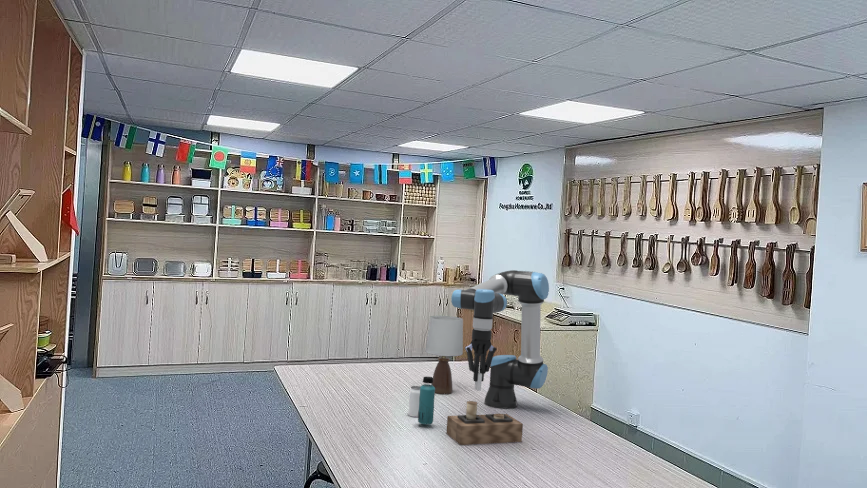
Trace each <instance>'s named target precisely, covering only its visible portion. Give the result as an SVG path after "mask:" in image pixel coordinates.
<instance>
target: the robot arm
mask: <svg viewBox="0 0 867 488" xmlns="http://www.w3.org/2000/svg"><path fill="white" fill-rule="evenodd" d="M549 284H550V283H549V280H548V278H547V276H546V275H545V274H544V273H543V272H536V271H527V270H525V271H524V270H513V269H512V270H506V271H502V272H499V273H496V274H494V275H492V276H490V277H489V278H488V280H486V281H483V282H481V283H479V284H476V285H474V286H472V287H470V288H467V289H465V290H464V289H455V290H454V291H453V292H452V294H451V298H450V299H451V305H452V306H453V307H454V308H456V309H457V308H458V309H460V310H461V309H463V310H471V311H473V317H472V318H473V319H472V328H473V329H472V333H471V341H470V344H469V345H466V346H465V347H464V350H465V352H466V356H467V363H468V369H469V372H472V373H473V378H472V380H473V382H474V390H475V391H481V390H482V382H484V378H485V374H486V373H488V372H489V371H490V373H489V385H488V386H489V387H488V389H487V391H486V395H485V397H484V404H485V405H486V406H488V407H492V408H499V409H513V408H516V407H517V405H518V403H517V401H518V400H517V397H516V393H515V386H520V387H525V388H530V389H535V390H536V389H537V390H539V389H542V387H543V386H544V384H545V382H546V380H547V377H548V370H549V367H548V365H547V364H546V363H544V358H543V357H542V356H541V312H542V311H541V308H542V307H541V306H542V304H544V303H545V300H546V299H547V298H548V296H549V292H550V285H549ZM505 295H506V296H508V295H509V296H515V297H517V298H518V299H517V300H518V301H517V302H518V303H519V304H520V305H521V317H520V318H521V320H520V321H521V324H520V325H521V326H520V327H521V338H520V339H521V340H520V341H521V343H520V344H521V346H520V348H521V349H520V351H521V352H520V355H519V356H518V357H517V356H516V355H513V354H500V355H494V354H495V352H496V351H497V347H494V346H493V344H492V334H493V333H492V329H493V319H494V313H500V312H502V311H504V310H506V308H507V306H508V305H507V304H508V299H507V298H506V296H505ZM472 351H473V352H472ZM487 352H488V353H487ZM473 356H474V357H473Z"/></svg>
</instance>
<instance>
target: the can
mask: <svg viewBox="0 0 867 488" xmlns="http://www.w3.org/2000/svg"><path fill="white" fill-rule="evenodd" d="M420 387H421V386H418V385H412V386H410V389H409V393H408V397H409V398H408V409H407V410H408V411H407V414H408V416H409V417H412V418H418V411H419V397H420Z"/></svg>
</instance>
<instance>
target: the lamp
mask: <svg viewBox="0 0 867 488" xmlns="http://www.w3.org/2000/svg"><path fill="white" fill-rule="evenodd" d="M463 330H464V319H463V318H462V317H457V316H450V315H432V316H430V317H429V324H428V331H427V336H426V337H427V338H426V345H425V353H426V354H430V355H433V356H437V361H438V362H437V364H436V365H435V368H434V371H433V375H432V378H433V383H430V385H433V386H434V388H435V394H439V395H449V394H453V391H454V390H453V377H452V370H451V367H450V363H449V362H450V360H451V359H450V358H449V357H458V356H462V355H464V353H463V352H464V341H463V339H464V331H463ZM438 356H439V357H438Z"/></svg>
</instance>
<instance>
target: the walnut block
mask: <svg viewBox="0 0 867 488" xmlns="http://www.w3.org/2000/svg"><path fill="white" fill-rule="evenodd" d="M494 414H495V413H487V414H477V415H476V420H467V419H466V414H458V415H447V417H446V419H447V421H446V433H445V434H446V435H447V436H448V437H450V438H451V439H453V440H454V441H455V443H457V444H458V445H459V446H465V445H467V446H470V445H486V444H505V443H506V444H507V443H522V442H523V429H524V424H523V423H522V422H521V421H519V420H517V419H515V418H514V417H512V416H511V415H510V414H507V413H502V414H503V415H504V419H495V418H494Z"/></svg>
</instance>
